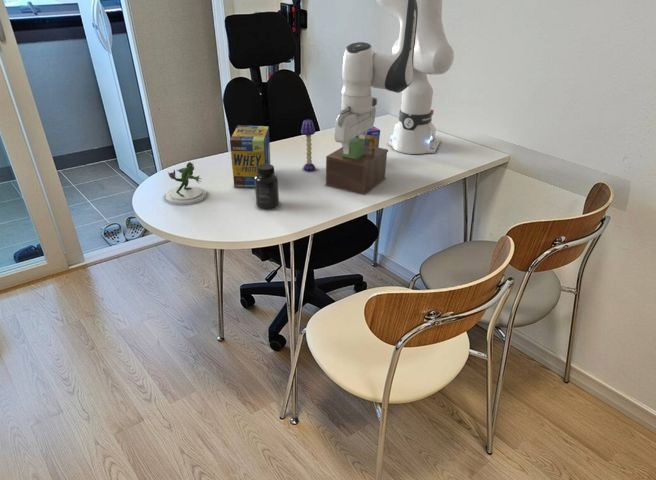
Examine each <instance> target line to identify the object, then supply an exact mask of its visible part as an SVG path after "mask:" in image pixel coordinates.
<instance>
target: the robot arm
mask: <svg viewBox="0 0 656 480" xmlns="http://www.w3.org/2000/svg"><path fill="white" fill-rule="evenodd" d="M375 3H377V5H378V6H379V7H380V8H381V9H382V10H383V11H385V12H386V13H387V14H389V15H390V16H393V17H394V18H396V19H397V20H399V35H398V38H397V39H396V40H395V41H394V43H393V46H392V50H391V54H390V53H381V52H375V51H373V47H372V44H370V43H368V42H363V41H357V42H353V43H350V44H348V45H347V46H345V50H344V53H343V59H342V69H341V70H342V71H341V79H342V88H341V97H340V98H341V99H340V102H341V103H340V109H341V110H340V112H339V115H337V116H336V119H335V124H334V133H333V139H334V141H335V142H336V143H340V144H341V146H342V147H343V153H344V154H349V153H350V152H351V151H350V150H351V148H350V147H349V143H350V140H351V139H353V138H355V137H356V136H358V135H359V138H361V139H365V137H366V134H367V130H369V129H370V128H372V127H373V126H374V124H375V122H376V121H375V120H376V113H377V111H376V109H377V107H376V106H377V105H378V98H377V97H374V96H372V88H374V89H379V90H386V91H389V92H393V93H397V94H400V93H401V103H400V109H399V111H398V121H397V122H396V123H395V124H394V126H393V127H394V128H393V134H392V135H390V139H392V140H390V141H388V145H389V146H390V147H392V149H394V150H395V151H396V152H399V153H402V154H406V155H407V154H408V155H423V154H434V153H436V151H437V149H438V147H439V146H440V143H441V139H440V138H438V137H436V129H437V128H436V127H435V125H434V123H433V122H432V120H433V119H432V118H433V115H434V114H435V113H434V112H435V111H434V109H432V105H433V98H434V97H433V96H434V89H433V85H431V83H430V81H429V79H428V76H427V75H431V76H432V75H433V76H435V75H436V76H438V75H444V74H446V73H447V72H448V71H449V70H450V69H451V67H452V65H453V62H454V58H455V55H454V52H455V51H454V49H453V47H452V46H451V45H450V43H449V42H448V40H447V37H446V34H445V30H444V25H443V0H375Z"/></svg>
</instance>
